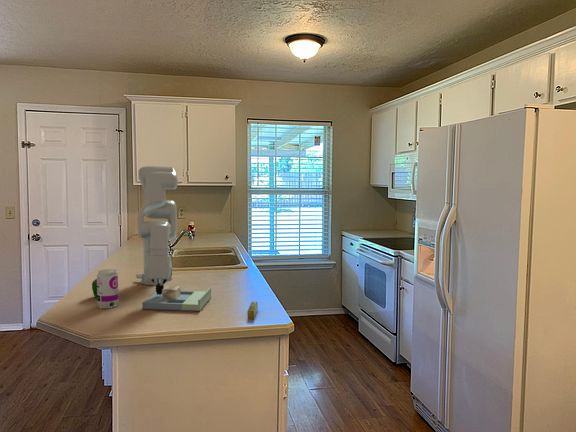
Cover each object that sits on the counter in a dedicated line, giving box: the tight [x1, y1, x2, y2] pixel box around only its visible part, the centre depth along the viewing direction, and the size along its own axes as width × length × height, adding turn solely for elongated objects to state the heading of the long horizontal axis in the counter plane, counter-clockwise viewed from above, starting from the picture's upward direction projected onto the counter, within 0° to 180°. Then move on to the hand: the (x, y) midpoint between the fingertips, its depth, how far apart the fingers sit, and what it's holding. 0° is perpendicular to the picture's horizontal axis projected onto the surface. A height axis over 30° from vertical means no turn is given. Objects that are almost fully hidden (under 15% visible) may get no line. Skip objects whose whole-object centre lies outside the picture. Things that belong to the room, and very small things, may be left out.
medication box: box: [246, 301, 259, 321], centre depth 175 cm, size 12×3×4 cm, turn 177°
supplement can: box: [96, 268, 119, 309], centre depth 182 cm, size 8×8×15 cm
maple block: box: [162, 285, 181, 299], centre depth 188 cm, size 6×6×4 cm
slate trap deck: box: [142, 287, 212, 313], centre depth 188 cm, size 24×20×5 cm
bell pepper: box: [91, 278, 97, 298], centre depth 196 cm, size 8×8×10 cm
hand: (159, 293), depth 189 cm, fingers closed
